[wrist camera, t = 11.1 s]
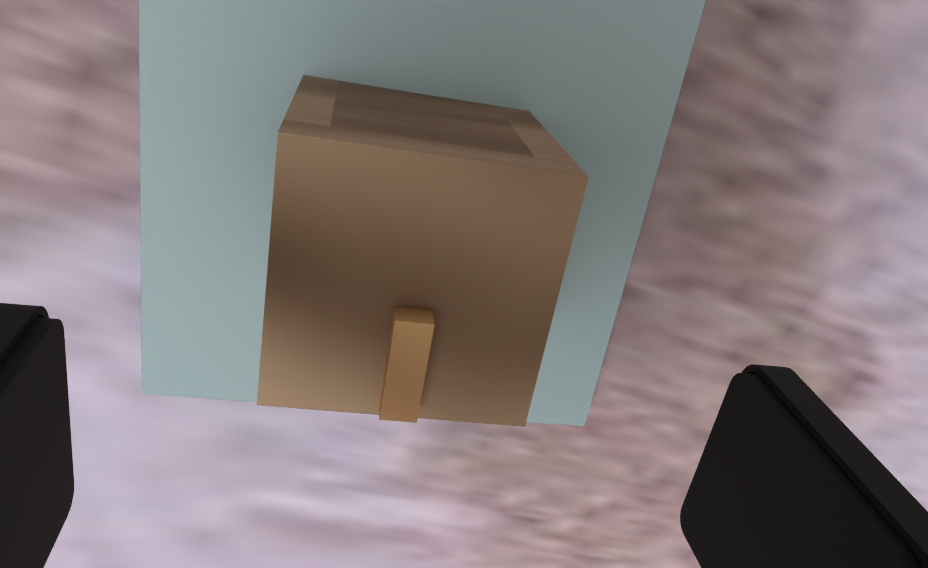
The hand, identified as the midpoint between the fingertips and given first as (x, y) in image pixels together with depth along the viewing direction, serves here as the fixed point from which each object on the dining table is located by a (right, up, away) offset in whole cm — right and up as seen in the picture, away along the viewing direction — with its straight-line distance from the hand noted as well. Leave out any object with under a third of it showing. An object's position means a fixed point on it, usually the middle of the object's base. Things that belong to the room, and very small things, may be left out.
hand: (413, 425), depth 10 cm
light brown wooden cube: (-1, +4, +10) cm, 11 cm away
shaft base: (-1, +5, +12) cm, 13 cm away
